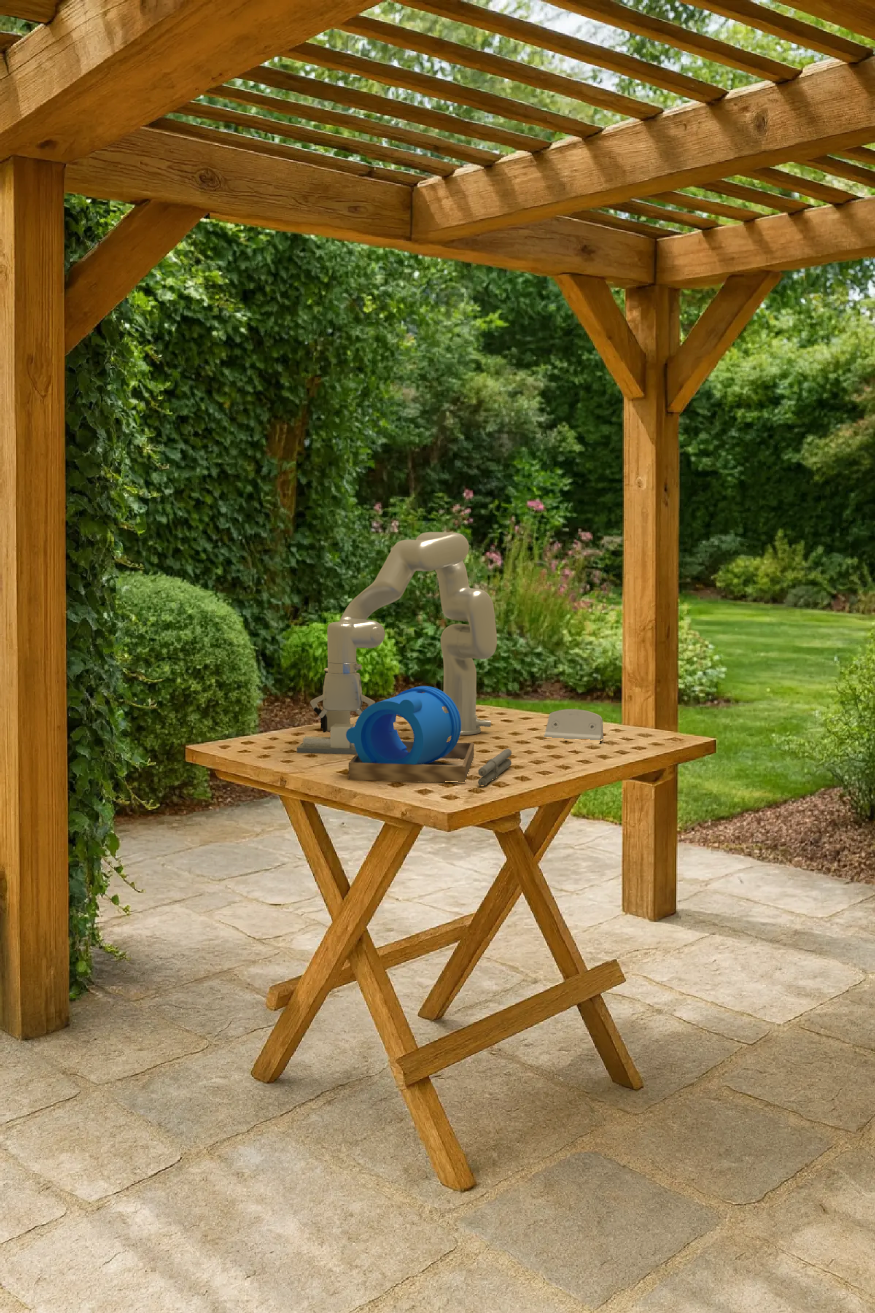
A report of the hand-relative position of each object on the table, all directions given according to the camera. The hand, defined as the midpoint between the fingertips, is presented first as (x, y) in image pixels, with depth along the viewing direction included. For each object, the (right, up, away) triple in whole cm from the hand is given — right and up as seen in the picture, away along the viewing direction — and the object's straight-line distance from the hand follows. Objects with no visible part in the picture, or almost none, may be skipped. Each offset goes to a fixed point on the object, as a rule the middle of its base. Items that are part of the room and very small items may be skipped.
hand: (342, 732), depth 323 cm
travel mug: (-4, -2, +32) cm, 33 cm away
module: (0, -4, 0) cm, 4 cm away
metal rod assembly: (+39, -9, -32) cm, 51 cm away
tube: (+17, -8, -24) cm, 30 cm away
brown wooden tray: (+19, -8, -23) cm, 31 cm away
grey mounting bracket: (+64, -4, +20) cm, 67 cm away
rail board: (0, -5, 0) cm, 5 cm away
